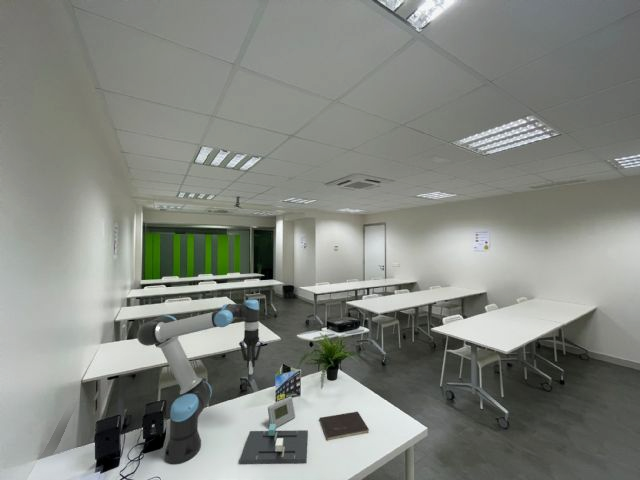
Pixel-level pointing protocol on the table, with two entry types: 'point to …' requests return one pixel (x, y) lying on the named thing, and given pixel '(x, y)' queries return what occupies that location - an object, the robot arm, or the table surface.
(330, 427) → the hardcover book
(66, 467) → the table surface
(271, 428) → the fader far
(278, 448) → the fader near
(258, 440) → the plate
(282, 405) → the digital clock
